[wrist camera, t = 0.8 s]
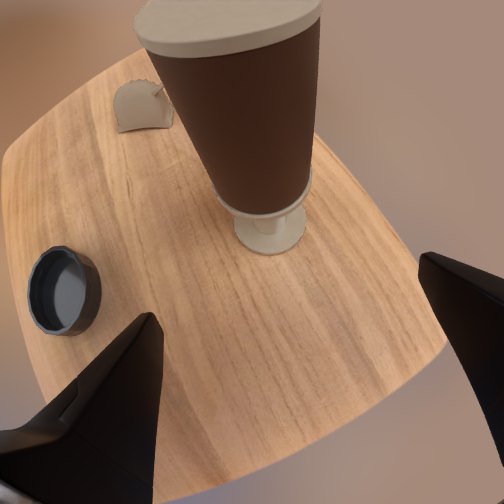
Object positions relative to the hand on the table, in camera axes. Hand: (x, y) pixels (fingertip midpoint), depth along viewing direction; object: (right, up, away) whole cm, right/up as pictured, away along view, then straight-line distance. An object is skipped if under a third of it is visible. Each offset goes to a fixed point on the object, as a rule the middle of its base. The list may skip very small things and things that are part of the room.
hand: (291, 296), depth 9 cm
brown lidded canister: (-1, +6, +7) cm, 10 cm away
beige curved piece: (-12, +16, +20) cm, 28 cm away
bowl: (-19, -3, +16) cm, 25 cm away
